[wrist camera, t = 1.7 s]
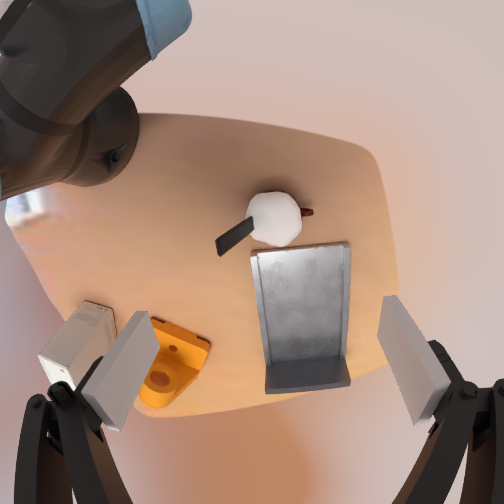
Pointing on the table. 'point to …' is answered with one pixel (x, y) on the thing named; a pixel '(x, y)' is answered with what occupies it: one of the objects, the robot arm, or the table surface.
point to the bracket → (172, 364)
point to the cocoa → (267, 221)
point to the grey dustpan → (303, 315)
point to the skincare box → (78, 344)
